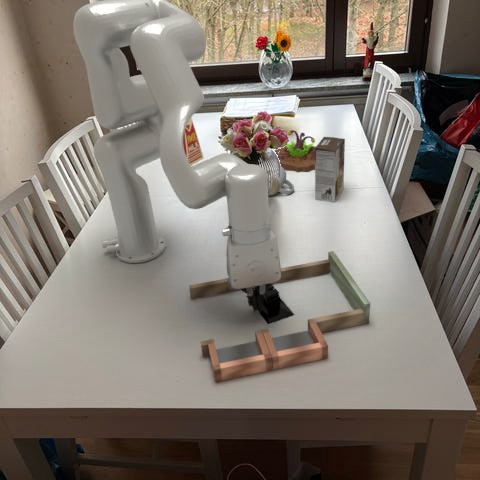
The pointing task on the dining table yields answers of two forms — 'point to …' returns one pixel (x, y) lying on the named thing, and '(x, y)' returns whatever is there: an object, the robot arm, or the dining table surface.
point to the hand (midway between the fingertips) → (256, 306)
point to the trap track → (293, 345)
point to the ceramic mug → (279, 182)
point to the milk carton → (191, 144)
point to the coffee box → (329, 168)
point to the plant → (297, 154)
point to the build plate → (273, 306)
